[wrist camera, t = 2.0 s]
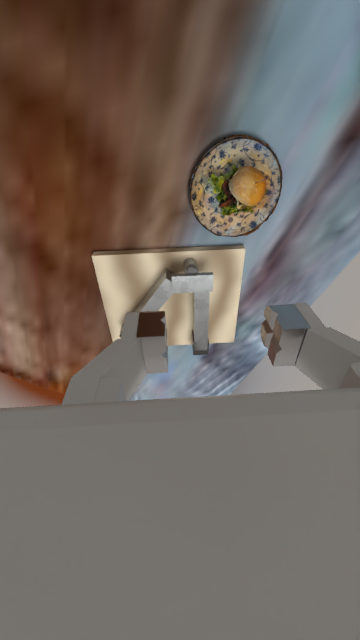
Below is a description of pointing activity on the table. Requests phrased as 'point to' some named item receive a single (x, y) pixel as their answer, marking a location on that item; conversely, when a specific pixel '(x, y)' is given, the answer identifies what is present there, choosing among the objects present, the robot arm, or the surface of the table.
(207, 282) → the tongs fixed
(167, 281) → the tongs arm
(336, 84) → the table surface
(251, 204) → the burger
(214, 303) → the board
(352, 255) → the table surface
